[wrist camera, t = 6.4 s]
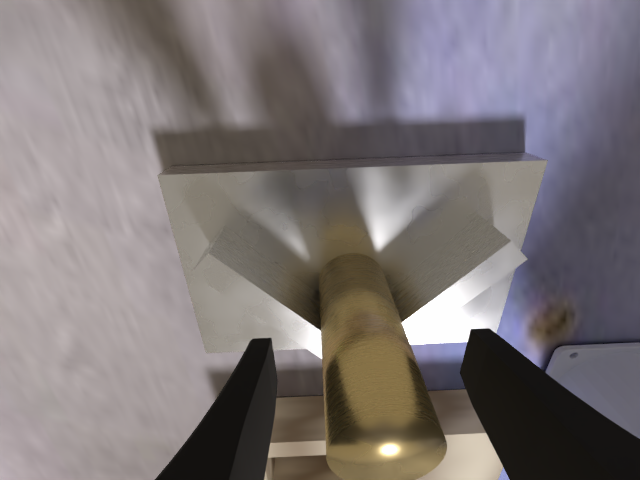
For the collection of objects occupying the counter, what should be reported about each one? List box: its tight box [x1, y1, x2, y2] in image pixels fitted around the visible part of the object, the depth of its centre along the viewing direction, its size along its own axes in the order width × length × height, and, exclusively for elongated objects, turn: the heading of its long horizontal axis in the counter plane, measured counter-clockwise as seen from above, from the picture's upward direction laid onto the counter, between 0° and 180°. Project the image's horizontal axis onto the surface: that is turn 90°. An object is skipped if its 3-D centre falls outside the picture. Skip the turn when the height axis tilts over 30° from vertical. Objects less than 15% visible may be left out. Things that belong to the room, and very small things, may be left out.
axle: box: [319, 253, 447, 480], centre depth 12 cm, size 3×3×8 cm
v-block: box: [157, 153, 548, 359], centre depth 15 cm, size 16×10×4 cm, turn 92°
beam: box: [264, 389, 503, 480], centre depth 22 cm, size 18×8×3 cm, turn 92°
